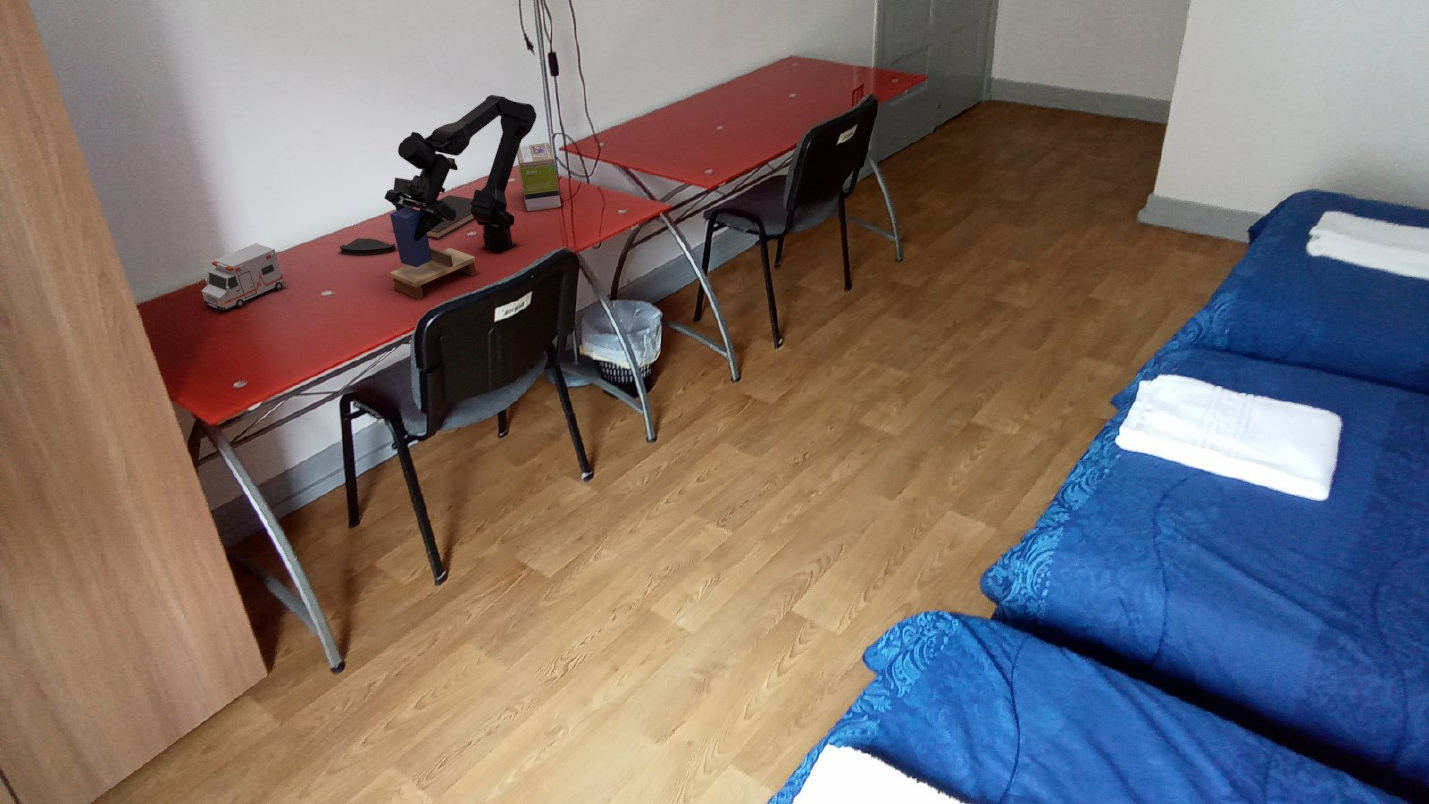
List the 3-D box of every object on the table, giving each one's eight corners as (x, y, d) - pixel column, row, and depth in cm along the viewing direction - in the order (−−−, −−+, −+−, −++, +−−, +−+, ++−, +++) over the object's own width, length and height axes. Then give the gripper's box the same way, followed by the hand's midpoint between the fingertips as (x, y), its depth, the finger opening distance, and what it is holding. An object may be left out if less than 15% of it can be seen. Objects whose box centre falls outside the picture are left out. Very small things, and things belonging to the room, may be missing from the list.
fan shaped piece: (382, 258, 257) (381, 253, 256) (339, 253, 261) (338, 247, 260) (401, 246, 264) (400, 240, 263) (358, 240, 268) (357, 235, 267)
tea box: (522, 194, 293) (515, 145, 285) (556, 190, 295) (549, 141, 287) (526, 212, 281) (519, 161, 273) (561, 207, 283) (555, 157, 275)
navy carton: (416, 255, 241) (405, 206, 234) (432, 259, 238) (422, 210, 232) (400, 262, 238) (389, 213, 231) (416, 267, 235) (406, 218, 228)
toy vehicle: (203, 306, 237) (189, 267, 232) (265, 278, 249) (254, 242, 244) (226, 315, 233) (213, 276, 227) (289, 287, 244) (278, 249, 239)
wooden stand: (453, 263, 253) (448, 236, 249) (478, 273, 247) (473, 245, 243) (393, 289, 241) (387, 260, 237) (418, 300, 236) (412, 271, 232)
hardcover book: (491, 209, 283) (490, 202, 282) (438, 239, 266) (437, 231, 265) (448, 202, 290) (447, 194, 289) (393, 230, 273) (391, 222, 272)
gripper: (381, 156, 232) (355, 216, 231) (437, 168, 224) (411, 231, 222) (413, 177, 242) (388, 235, 241) (468, 190, 233) (443, 250, 232)
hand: (406, 237), depth 233 cm, fingers closed on navy carton, 5 cm apart
